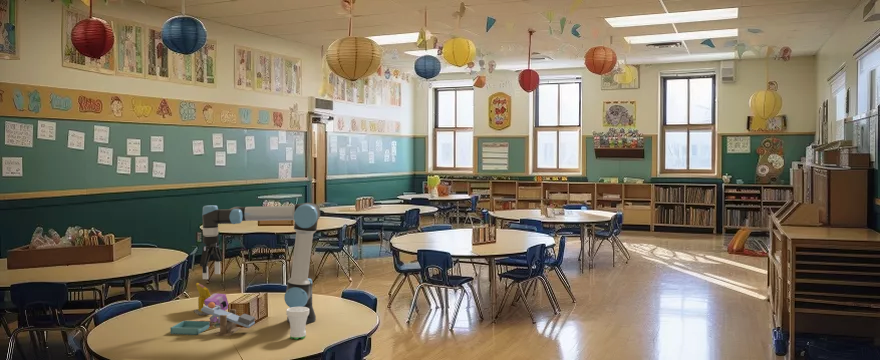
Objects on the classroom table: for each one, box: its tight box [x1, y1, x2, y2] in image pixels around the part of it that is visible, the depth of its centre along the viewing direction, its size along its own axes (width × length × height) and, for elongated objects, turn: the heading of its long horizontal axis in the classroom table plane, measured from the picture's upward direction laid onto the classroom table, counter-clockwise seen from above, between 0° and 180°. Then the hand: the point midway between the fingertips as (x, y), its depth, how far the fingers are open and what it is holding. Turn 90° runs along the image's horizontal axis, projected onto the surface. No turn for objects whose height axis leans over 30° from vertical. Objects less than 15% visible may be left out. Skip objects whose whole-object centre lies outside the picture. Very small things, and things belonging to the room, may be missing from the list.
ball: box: [208, 302, 215, 309], centre depth 346 cm, size 4×4×4 cm
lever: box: [201, 305, 256, 329], centre depth 346 cm, size 26×10×4 cm, turn 85°
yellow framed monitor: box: [193, 282, 212, 316], centre depth 385 cm, size 20×8×16 cm, turn 34°
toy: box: [204, 292, 230, 324], centre depth 365 cm, size 11×8×15 cm
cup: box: [285, 307, 309, 340], centre depth 336 cm, size 11×11×14 cm
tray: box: [169, 320, 211, 336], centre depth 348 cm, size 14×14×3 cm
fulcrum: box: [215, 308, 241, 337], centre depth 346 cm, size 7×14×10 cm, turn 175°
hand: (211, 276), depth 352 cm, fingers open, 13 cm apart
